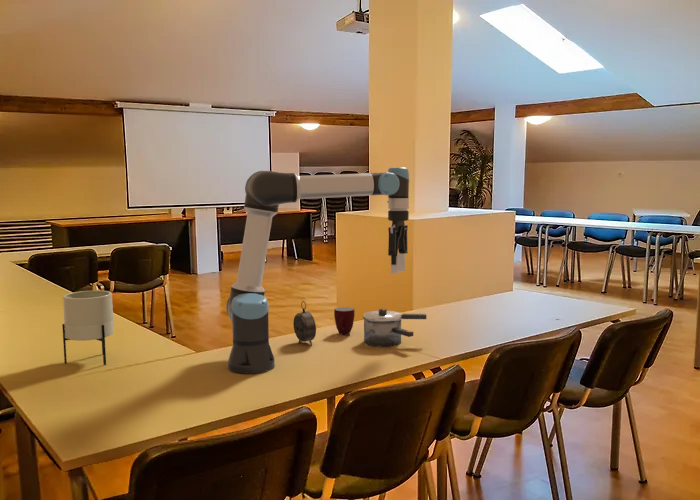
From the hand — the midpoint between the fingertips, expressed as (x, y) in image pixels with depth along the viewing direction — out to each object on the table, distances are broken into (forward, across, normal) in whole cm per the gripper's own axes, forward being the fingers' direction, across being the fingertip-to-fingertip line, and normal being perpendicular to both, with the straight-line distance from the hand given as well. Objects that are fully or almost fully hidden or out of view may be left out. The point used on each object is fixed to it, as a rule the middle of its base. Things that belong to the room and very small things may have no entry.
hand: (397, 271), depth 227 cm
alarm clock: (+27, +16, -31) cm, 44 cm away
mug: (+27, -2, -24) cm, 36 cm away
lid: (+18, 0, -1) cm, 18 cm away
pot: (+27, +4, -1) cm, 27 cm away
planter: (+27, +66, -86) cm, 112 cm away
